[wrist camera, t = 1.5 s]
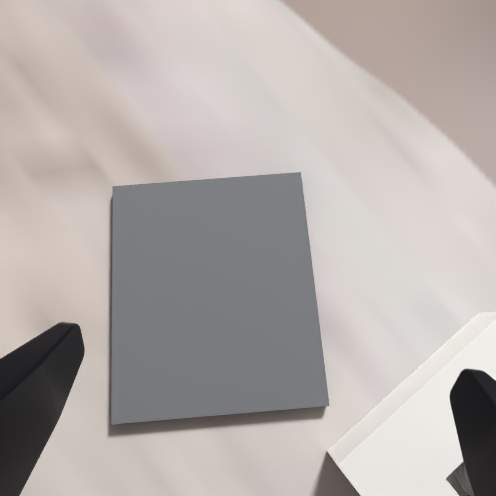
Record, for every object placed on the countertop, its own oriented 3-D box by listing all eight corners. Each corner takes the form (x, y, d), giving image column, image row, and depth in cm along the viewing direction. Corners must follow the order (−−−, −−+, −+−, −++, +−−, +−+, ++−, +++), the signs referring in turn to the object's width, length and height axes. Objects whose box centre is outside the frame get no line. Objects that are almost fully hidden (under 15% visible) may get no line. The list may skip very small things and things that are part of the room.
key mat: (327, 404, 21) (329, 406, 21) (114, 422, 21) (111, 424, 21) (299, 176, 25) (300, 172, 24) (116, 190, 24) (112, 186, 24)
